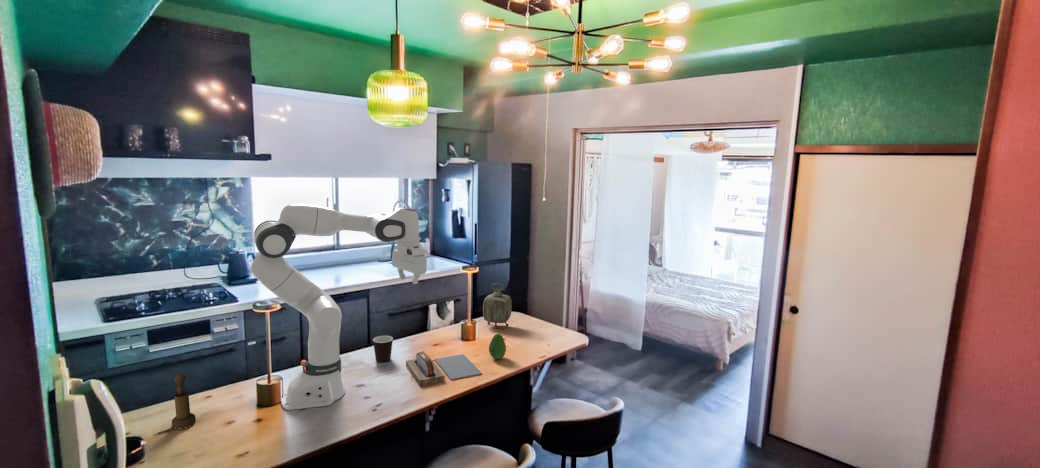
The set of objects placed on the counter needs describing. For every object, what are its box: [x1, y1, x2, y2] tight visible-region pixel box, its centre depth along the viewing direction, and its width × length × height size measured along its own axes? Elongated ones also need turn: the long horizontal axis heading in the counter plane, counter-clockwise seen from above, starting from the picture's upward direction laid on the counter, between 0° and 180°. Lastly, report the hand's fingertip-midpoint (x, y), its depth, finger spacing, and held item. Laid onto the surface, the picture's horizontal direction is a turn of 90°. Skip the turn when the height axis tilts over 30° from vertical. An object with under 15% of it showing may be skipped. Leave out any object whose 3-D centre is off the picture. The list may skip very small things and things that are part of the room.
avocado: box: [488, 333, 507, 360], centre depth 222 cm, size 8×8×12 cm
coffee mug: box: [372, 335, 394, 364], centre depth 219 cm, size 12×9×10 cm
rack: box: [405, 356, 445, 387], centre depth 206 cm, size 10×21×2 cm, turn 28°
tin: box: [415, 350, 434, 377], centre depth 205 cm, size 15×3×8 cm, turn 32°
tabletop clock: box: [482, 282, 513, 329], centre depth 262 cm, size 14×9×25 cm, turn 77°
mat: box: [434, 353, 483, 381], centre depth 213 cm, size 14×22×1 cm, turn 28°
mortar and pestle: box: [171, 373, 197, 430], centre depth 161 cm, size 7×6×18 cm
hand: (408, 281), depth 194 cm, fingers open, 8 cm apart
